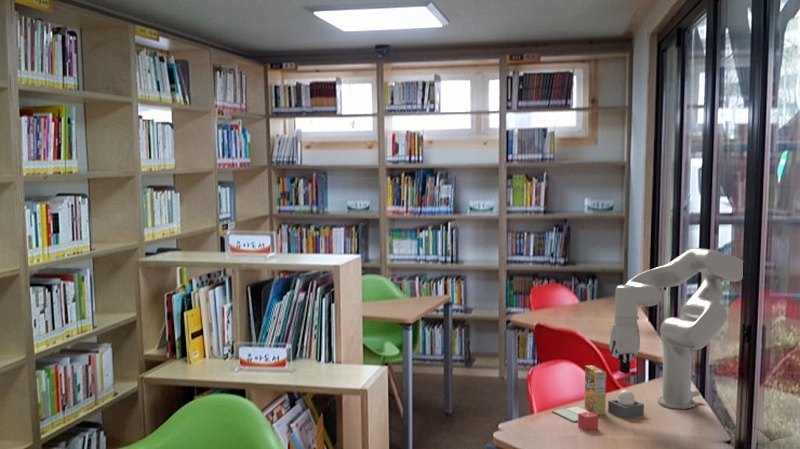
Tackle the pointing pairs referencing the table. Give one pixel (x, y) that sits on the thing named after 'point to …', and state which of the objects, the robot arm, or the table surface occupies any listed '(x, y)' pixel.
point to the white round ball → (625, 398)
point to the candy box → (595, 389)
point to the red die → (588, 421)
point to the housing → (625, 409)
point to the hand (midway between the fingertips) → (624, 372)
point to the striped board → (570, 413)
